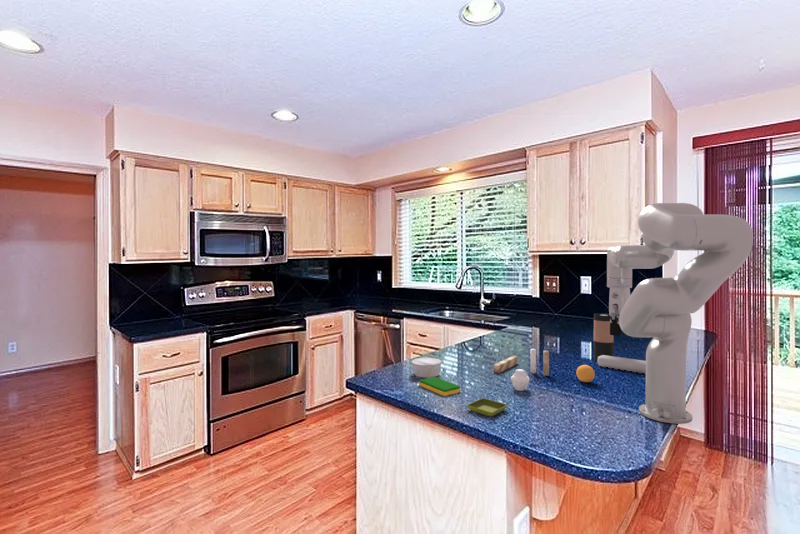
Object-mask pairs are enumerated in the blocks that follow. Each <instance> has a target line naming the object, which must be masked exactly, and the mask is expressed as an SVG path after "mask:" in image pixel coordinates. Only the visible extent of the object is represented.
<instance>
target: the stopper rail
mask: <svg viewBox="0 0 800 534" xmlns="http://www.w3.org/2000/svg"><path fill="white" fill-rule="evenodd" d="M518 361H519V358H518V356H517V355H512V356H509V357H508V358H505V359H504V360H501V361H499V362H496V363H494V364H493V373H496V374H500V373H501V372H502V373H503V372H504V371H506V370H508V369H510V368H512V367H514V366H516V365H518V363H519V362H518Z"/></svg>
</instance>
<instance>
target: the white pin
mask: <svg viewBox="0 0 800 534" xmlns="http://www.w3.org/2000/svg"><path fill="white" fill-rule="evenodd" d="M529 351H530V352H529V353H530V358H529V359H530V360H529V361H530V363H529V364H530V366H529V367H530V369H529V370H530V371H529V372H530V373H531V374H536V373H537V371H536V370H537V364H536V363H537V356H536V355H537V349H536V348H530V350H529Z"/></svg>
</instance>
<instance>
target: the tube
mask: <svg viewBox="0 0 800 534" xmlns="http://www.w3.org/2000/svg"><path fill="white" fill-rule="evenodd" d="M596 363H597V365H598V366H599V367H600V366H601V368H606V367H608V368H607V369H612V368H614V369H613V370H618V369H620V370H619V371H624V370H626V371H625V372H630V371H632V372H631V373H636V372H638V373H637V374H642V373H644V374H643V375H646V360H641V359H635V358H627V357H621V356H620V357H619V356H614V355H613V356H607V355H602V356H599V357H598V360H597V362H596Z"/></svg>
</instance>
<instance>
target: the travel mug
mask: <svg viewBox="0 0 800 534" xmlns="http://www.w3.org/2000/svg"><path fill="white" fill-rule="evenodd" d="M610 317H611V316H610V315H609V313H608V312H607V313H605V312H602V313H601V312H597V313H596V312H595V313H593V360H594V362H596V363H597V360H598V357H599V356H602V355H607V356H614V345H615V344H614V343H615V342H614V341H615V340H614V339H615V338H614V335H610V319H611V318H610Z"/></svg>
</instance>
